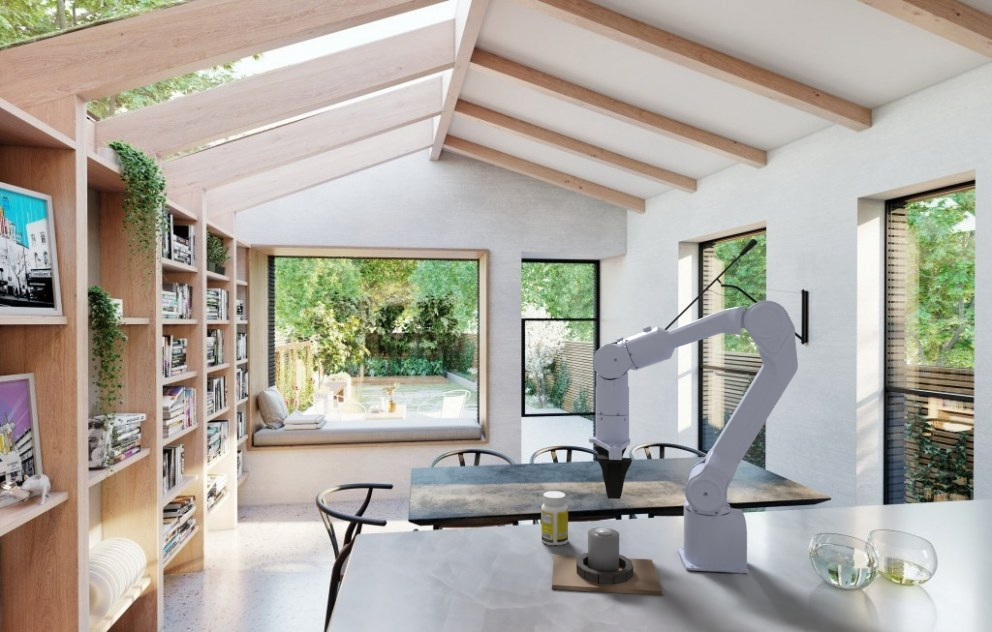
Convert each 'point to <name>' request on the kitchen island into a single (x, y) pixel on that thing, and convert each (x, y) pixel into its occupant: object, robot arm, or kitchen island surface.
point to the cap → (603, 549)
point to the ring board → (605, 576)
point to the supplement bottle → (554, 518)
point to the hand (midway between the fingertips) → (612, 491)
